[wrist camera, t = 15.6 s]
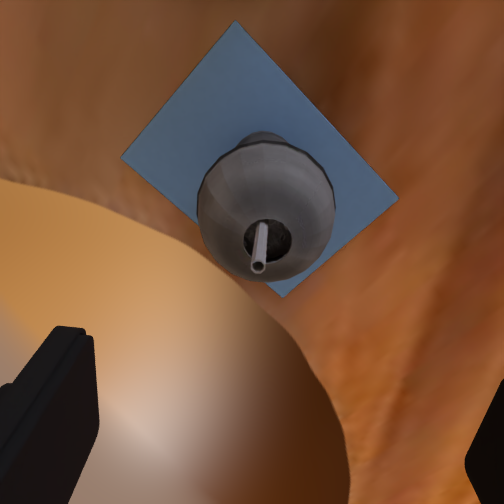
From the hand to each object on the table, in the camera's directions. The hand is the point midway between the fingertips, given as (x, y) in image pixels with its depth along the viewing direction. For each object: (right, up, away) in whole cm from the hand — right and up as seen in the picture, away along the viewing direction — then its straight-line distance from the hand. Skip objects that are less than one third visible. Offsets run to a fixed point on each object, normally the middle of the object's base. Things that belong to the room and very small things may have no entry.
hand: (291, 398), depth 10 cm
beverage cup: (0, +10, +23) cm, 25 cm away
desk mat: (0, +9, +23) cm, 25 cm away
